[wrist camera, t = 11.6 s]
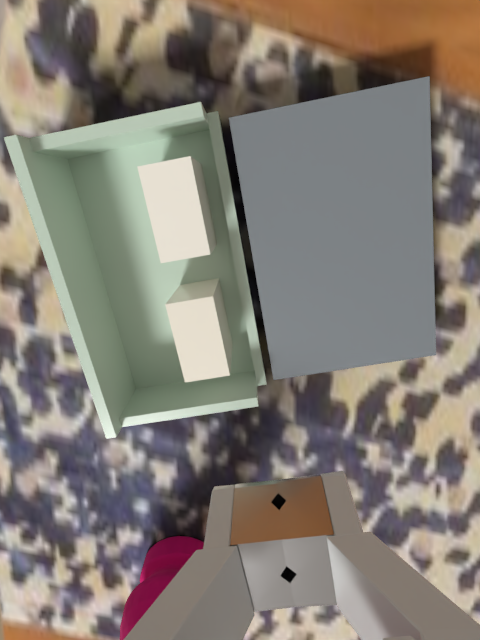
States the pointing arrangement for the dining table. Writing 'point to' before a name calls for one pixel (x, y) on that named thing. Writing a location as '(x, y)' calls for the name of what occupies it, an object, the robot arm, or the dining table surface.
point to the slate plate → (342, 227)
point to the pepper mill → (157, 576)
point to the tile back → (201, 330)
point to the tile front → (178, 208)
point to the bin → (137, 262)
